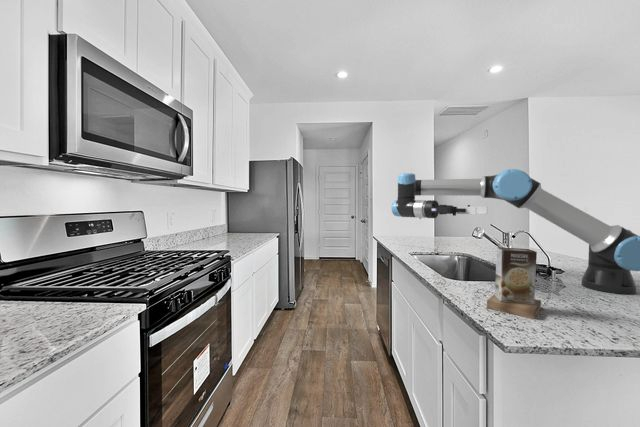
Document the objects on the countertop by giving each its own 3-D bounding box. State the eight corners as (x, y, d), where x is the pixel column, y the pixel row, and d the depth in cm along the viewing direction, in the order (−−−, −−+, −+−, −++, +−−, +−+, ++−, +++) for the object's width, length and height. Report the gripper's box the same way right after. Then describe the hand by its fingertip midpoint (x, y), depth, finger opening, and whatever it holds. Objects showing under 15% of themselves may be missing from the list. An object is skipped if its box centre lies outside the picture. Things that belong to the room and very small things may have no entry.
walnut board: (540, 308, 91) (541, 300, 91) (534, 319, 83) (534, 310, 83) (497, 299, 100) (497, 292, 100) (486, 308, 91) (487, 300, 91)
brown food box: (500, 302, 89) (501, 249, 89) (494, 295, 96) (495, 246, 95) (535, 305, 87) (537, 251, 86) (526, 298, 93) (528, 248, 92)
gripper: (438, 217, 133) (490, 219, 119) (412, 219, 116) (470, 221, 101) (439, 200, 133) (491, 200, 118) (413, 200, 115) (471, 200, 101)
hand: (481, 210), depth 110 cm, fingers open, 13 cm apart
